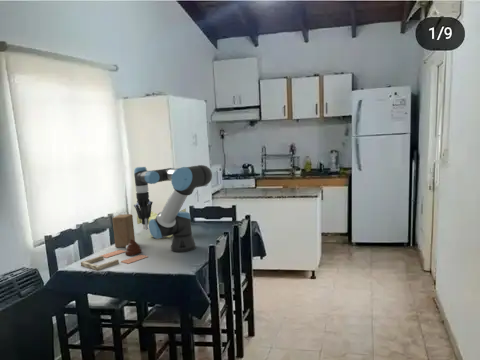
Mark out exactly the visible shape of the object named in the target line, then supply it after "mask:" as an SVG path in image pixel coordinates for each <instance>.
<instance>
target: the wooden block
mask: <svg viewBox="0 0 480 360" xmlns="http://www.w3.org/2000/svg"><path fill="white" fill-rule="evenodd" d="M112 229H113V237H114V247H115V248H126V246H127V245H128V244H129V243H130V239H132V240H134V241H135V242H136V238H135V237H136V236H135V228H134V218H133V214H132V213H131V214H130V213H128V214H126V213H125V214H124V213H123V214H118V215H116V216H114V217H112Z"/></svg>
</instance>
